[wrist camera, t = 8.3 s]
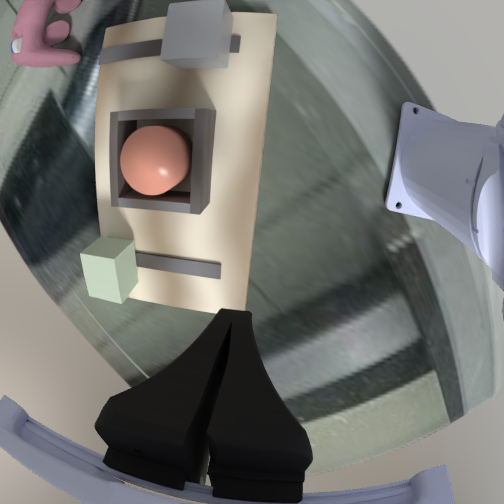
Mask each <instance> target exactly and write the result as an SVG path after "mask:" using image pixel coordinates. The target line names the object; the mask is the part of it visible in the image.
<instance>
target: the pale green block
mask: <svg viewBox="0 0 504 504" xmlns="http://www.w3.org/2000/svg"><path fill="white" fill-rule="evenodd" d="M80 256H81V261H82V266H83V271H84V275H85V280H86V284H87V288H88V292H89V296H92V297H96V298H100V299H104V300H108V301H112V302H116V303H120V304H122V303H123V302H124V300H125V299H126V298H127V296H128V295H129V294H130V292H131V291H132V290H133V288H134V287H135V286H136V285H137V283H138V282H139V281H138V274H137V265H136V256H135V246H134V240H127V239H120V238H112V237H105V236H101V237H100V238H98V239H97V240H96V241H95V242H93V243H92V244H91V245H90V246H88V247H87V248H86V249H85V250H83V251H82V252H81V253H80Z"/></svg>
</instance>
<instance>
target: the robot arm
mask: <svg viewBox="0 0 504 504" xmlns="http://www.w3.org/2000/svg"><path fill="white" fill-rule="evenodd" d="M413 108H415V109H416V110H417V113H416V114H414V112H413ZM397 202H400V205H399V207H396V203H397ZM385 205H386V207H387V208H388V209H389V210H391V211H395V212H400V213H404V214H409V215H414V216H418V217H423V218H427V219H431V220H435V221H437V222H438V223H439V224H440V225H442V226H443V227H444V228H446V229H447V230H448V231H449V232H451V233H452V234H453V235H454V236H455V237H457V238H458V239H459V240H460V241H461V242H463V243H464V244H465V245H466V246H467V247H468V248H470V249H471V250H472V251H473V252H474V253H475V254H476V255H478V256H479V257H480V258H481V259H482V260H483V261H484V262H485V263H486V264H487V265H488V266H489V267H490V268H491V271H492V279H493V281H494V282H495V283H496V284H497V285H498V286H499V287H500V288H501V289H502V290H503V291H504V115H503V117H502V118H501V120H500V121H499V122H498V123H497V125H496V127H494V126H488V125H481V124H473V123H464V122H458V121H456V120H454V119H451V118H449V117H447V116H445V115H442V114H440V113H437V112H435V111H433V110H430V109H427V108H425V107H422V106H420V105H417V104H414V103H411V102H405V103H403V105H402V109H401V118H400V125H399V132H398V139H397V145H396V151H395V157H394V162H393V167H392V173H391V178H390V182H389V187H388V192H387V196H386V200H385ZM502 312H503V318H504V299H503V308H502ZM95 429H96V431H97V433H98V434H99V435H100V436H101V438H102V439H103V440H104V441H105V443H106V444H107V445H108V446H109V447H108V449H107V452H106V454H105V456H104V455H102V454H99V453H97V452H95V451H92V450H90V449H88V448H86V447H83V446H82V445H79V444H77V443H75V442H73V441H71V440H69V439H67V438H66V437H63V436H62V435H59V434H58V433H56V432H54V431H53V430H51V429H49V428H47V427H46V426H44V425H42V424H41V423H39V422H37V421H36V420H34V419H33V418H31V417H29V416H28V414H27V412H26V411H25V410H24V409H23V408H22V407H21V406H20V405H18V404H17V403H16V402H14V401H13V400H11V399H10V398H8V397H7V396H6V395H4V396H3V397H2V399H1V400H0V447H1V448H2V449H4V450H5V451H6V452H7V453H8V454H10V455H11V456H12V457H13V458H15V459H16V460H17V461H19V462H20V463H21V464H22V465H24V466H25V467H27V468H28V469H29V470H31V471H32V472H34V473H35V474H37V475H38V476H39V477H41V478H43V479H44V480H46V481H47V482H49V483H50V484H52V485H53V486H55V487H57V488H58V489H60V490H62V491H64V492H65V493H67V494H69V495H71V496H72V497H74V498H76V499H78V500H80V501H82V504H192V503H187V502H183V501H178V500H174V499H170V498H167V497H163V496H159V495H156V494H152V493H149V492H146V491H143V490H140V489H137V488H134V487H131V486H128V485H125V484H124V482H123V481H126V482H128V483H131V484H134V485H137V486H140V487H143V488H146V489H149V490H152V491H156V492H159V493H163V494H167V495H170V496H174V497H179V498H182V499H187V500H192V501H197V502H202V503H207V504H455V503H454V498H453V493H452V488H451V483H450V479H449V475H448V470H447V466H446V465H445V464H444V465H440V466H437V467H434V468H431V469H427V470H425V471H422V472H420V473H418V474H416V475H414V476H413V477H412V478H411V479H408V480H403V481H399V482H395V483H390V484H385V485H379V486H374V487H368V488H361V489H353V490H345V491H334V492H319V493H303V482H304V480H305V470H306V469H307V468H308V467H309V466H310V464H311V463H312V460H313V454H312V449H311V445H310V441H309V438H308V436H307V433H306V431H305V429H304V428H303V427H302V426H301V425H300V424H299V422H298V421H297V420H296V419H295V417H294V416H293V415H292V414H291V412H290V411H289V409H288V408H287V407H286V405H285V404H284V402H283V401H282V399H281V397H280V396H279V394H278V393H277V391H276V389H275V388H274V386H273V384H272V382H271V380H270V378H269V376H268V374H267V372H266V370H265V367H264V365H263V362H262V360H261V357H260V354H259V351H258V348H257V345H256V341H255V337H254V333H253V327H252V313H251V312H250V311H242V310H234V309H226V308H221V309H220V310H219V311H218V312H217V314H216V315H215V317H214V318H213V320H212V321H211V322H210V324H209V325H208V326H207V327H206V329H205V330H204V331H203V332H202V333H201V334H200V336H199V337H198V338H197V339H196V340H195V341H194V342H193V343H192V344H191V345H190V346H189V347H188V348H187V349H186V350H185V351H184V352H183V353H182V354H181V355H180V356H179V357H177V358H176V359H175V360H174V361H173V362H171V363H170V364H169V365H167V366H166V367H165V368H163V369H162V370H161V371H159V372H158V373H156V374H155V375H153V376H152V377H150V378H148V379H147V380H145V381H143V382H141V383H140V384H138V385H136V386H134V387H132V388H130V389H128V390H126V391H124V392H121V393H119V394H117V395H115V396H112V397H110V398H109V400H108V401H107V403H106V404H105V406H104V407H103V409H102V410H101V413H100V415H99V417H98V419H97V421H96V423H95ZM209 455H210V461H209ZM208 461H209V466H208ZM207 468H208V471H207ZM207 474H208V475H209V478H210V481H211V486H206V485H205V482H206V475H207ZM114 477H115V478H114ZM116 478H118V479H116ZM119 479H120V480H123V481H120V480H119Z"/></svg>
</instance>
